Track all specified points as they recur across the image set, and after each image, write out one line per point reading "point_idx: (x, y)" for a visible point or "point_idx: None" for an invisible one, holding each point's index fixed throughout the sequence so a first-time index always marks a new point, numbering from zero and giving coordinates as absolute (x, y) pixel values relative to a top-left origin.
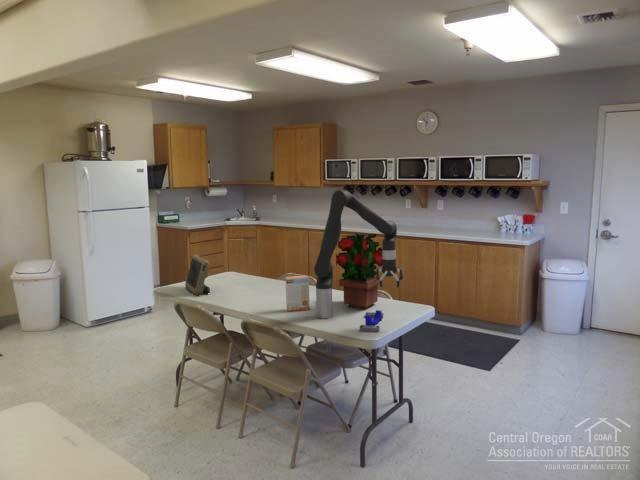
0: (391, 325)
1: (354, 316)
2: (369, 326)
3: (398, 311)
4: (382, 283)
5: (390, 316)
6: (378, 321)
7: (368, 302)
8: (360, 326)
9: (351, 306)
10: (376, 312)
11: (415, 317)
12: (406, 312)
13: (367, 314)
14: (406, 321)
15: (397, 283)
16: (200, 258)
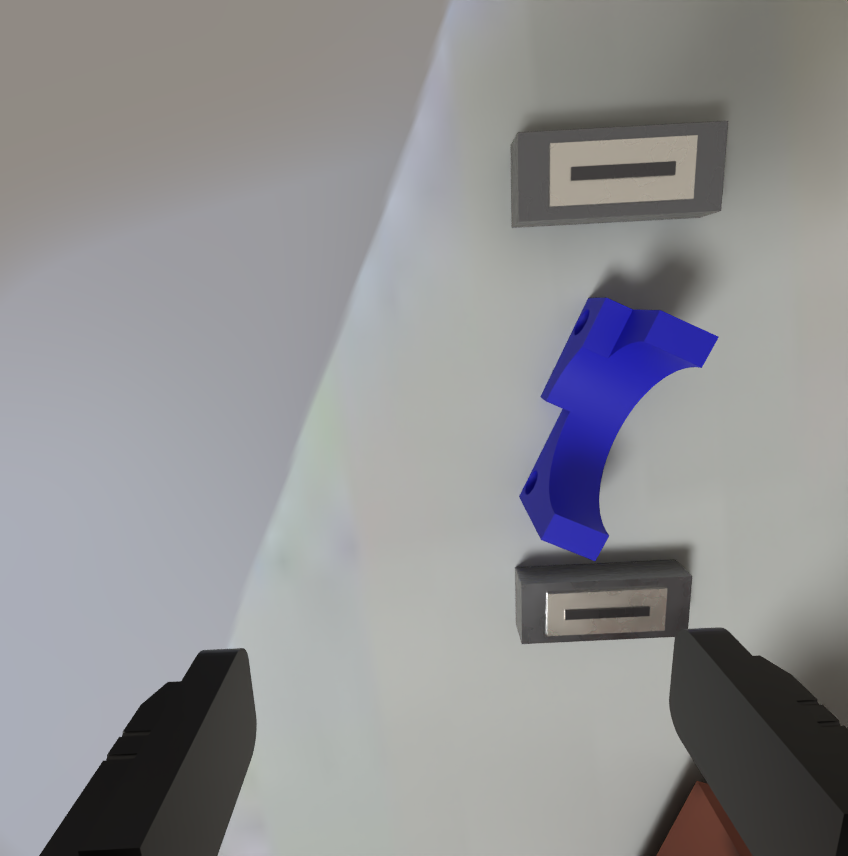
0: (412, 382)
1: (778, 574)
2: (624, 162)
3: (402, 773)
4: (729, 778)
5: (453, 634)
6: (545, 450)
7: (694, 850)
8: (722, 156)
9: None
10: (592, 521)
11: (235, 648)
12: (332, 760)
13: (671, 576)
14: (293, 526)
15: (158, 748)
16: None
